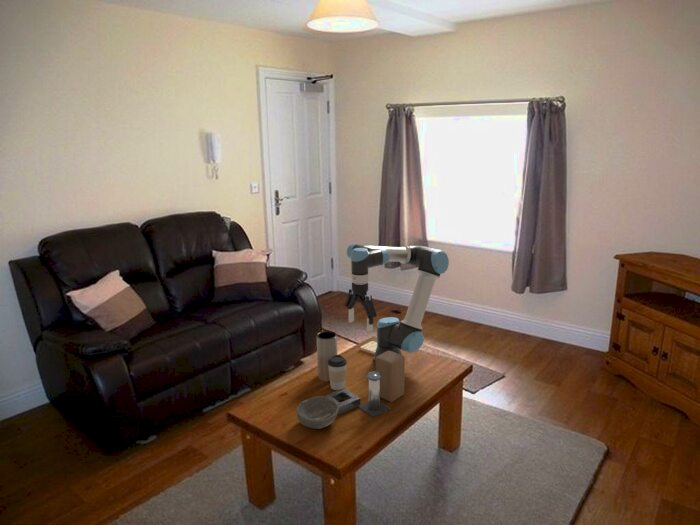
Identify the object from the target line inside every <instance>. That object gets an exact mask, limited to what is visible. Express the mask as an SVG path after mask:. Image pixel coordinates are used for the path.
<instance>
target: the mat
mask: <svg viewBox="0 0 700 525" xmlns="http://www.w3.org/2000/svg"><path fill="white" fill-rule="evenodd" d="M358 409H360V410H361V411H363V412H364V413H366V414H367V415H369V416H371V417H372V418H375V417H377V416H379V415H381V414H383V413H385V412H387V411H390V410H391V408H390V407H389V406H387V405H386V404H384V403H382V402H381V401H380V408H379V409H378V410H370V409H369V401H368V402H366V403H363V404H361V405H360V406H358Z"/></svg>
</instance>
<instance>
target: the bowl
mask: <svg viewBox="0 0 700 525" xmlns="http://www.w3.org/2000/svg"><path fill="white" fill-rule="evenodd" d="M323 396H324V395H323ZM323 396H322V395H317V396H313V397H310V398H307V399H305V400H303V401H301V402H300V403H299V404H298V405H297V407H296V410H295V412H296V418H297V419H298V421H299V422H300V424H301V425H303V426H305V427H306V428H310V429H317V430H321V429H323V428H326V427H328V426H331V425H332V424H333V423H334V421H335V419H337V415H339V414H338V411H339V405H338V404H337V403H336V402H335V401H333V400H332V399H329V398H326V397H323Z"/></svg>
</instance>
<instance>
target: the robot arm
mask: <svg viewBox="0 0 700 525" xmlns="http://www.w3.org/2000/svg"><path fill="white" fill-rule="evenodd" d="M346 256H347V257H348V258H349V259H350V262H351V264H350V265H351V289H348V294H347V298H346V300H345V303H344V306H345V307H347V314H348V323H353V322H355V309H354V306H355V305H356V304H357V303H360V305H361V306H362V307H363V309H364V311H365V313H366V316H367V317H366V332H370V331H373V330H374V328H373V327H374V326H373V324H374V318H376V317H378V314H377V312H376V308H375V305H374V301H373V297H372V295H370V294H369V295H368V294H367V293H368V291H369V268H375V267H379V266H383V265H385V264H387V263H388V262H392V263H393V262H394V263H395V262H397V263H398V262H399V263H401V264H403V265H409V266H412V267H416V268H417V272H418V278H417V279H416V282H415V283H416V284H415V286H414V289H413V292H412V296H411V299H410V301H409V305H408V308H407V311H406V312H405V313H406V314H405V316H404V319H401V320H400V319H399V318H397V317H393V316H390V317H383V318H380V319H378V321H377V323H376V343H377V344H376V348H375V352H374V354H373V360H374V362H375V363H376V357H377V356H379V355H380V354H382V353H384V352H386V351H392V352H395V353H398V354H400V355H403V353H402V352H401V350H402V351H403V352H406V353H409V354H411V353H413V354H414V353H415V352H417V351H418V350H420V349H421V347H422V346H423V344H424V340H425V338H424V336H425V335H424V334H423V333H422V331H423V326H422V321H423V318H424V316H425V312H426V310H427V306H428V303H429V301H430V297H431V295H432V291H433V289H434V286H435V283H436V280H437V279H440V277H441V275H443V274H444V273H446V271H447V270H448V269H449V265H450V264H449V262H450V260H449V255H448V254H447V253H446V252H445V251H444V250H442V249H440V248H439V249H438V248H435V247H434V248H433V247H429V246H425V245H402V246H387V245H385V246H384V245H383V246H382V245H362V244H358V243H351V244H349V245H348V246H347V248H346Z"/></svg>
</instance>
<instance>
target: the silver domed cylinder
mask: <svg viewBox="0 0 700 525" xmlns="http://www.w3.org/2000/svg"><path fill="white" fill-rule="evenodd" d="M366 376H367V379H368V402H369V409H370V410H378V409H379V408H380V402H381V400H380V398H381V397H380V379H381V373H380V372H377V371H376V370H375V371H374V370H373V371H369V372H367V373H366Z"/></svg>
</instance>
